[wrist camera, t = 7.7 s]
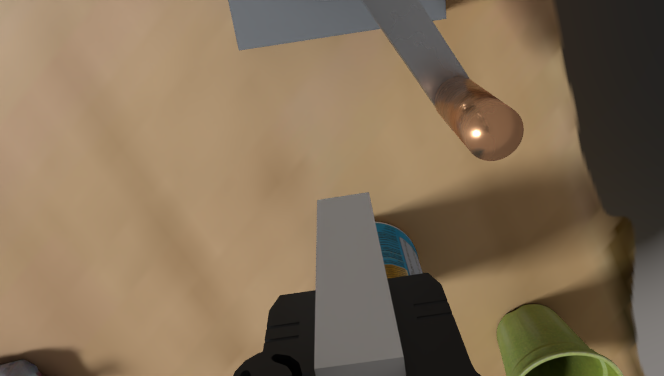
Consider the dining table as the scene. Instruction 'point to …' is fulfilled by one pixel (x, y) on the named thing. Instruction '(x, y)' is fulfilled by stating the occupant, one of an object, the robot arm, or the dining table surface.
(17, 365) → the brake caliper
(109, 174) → the dining table surface
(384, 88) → the dining table surface
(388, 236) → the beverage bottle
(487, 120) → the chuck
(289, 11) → the stand
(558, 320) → the plant pot
